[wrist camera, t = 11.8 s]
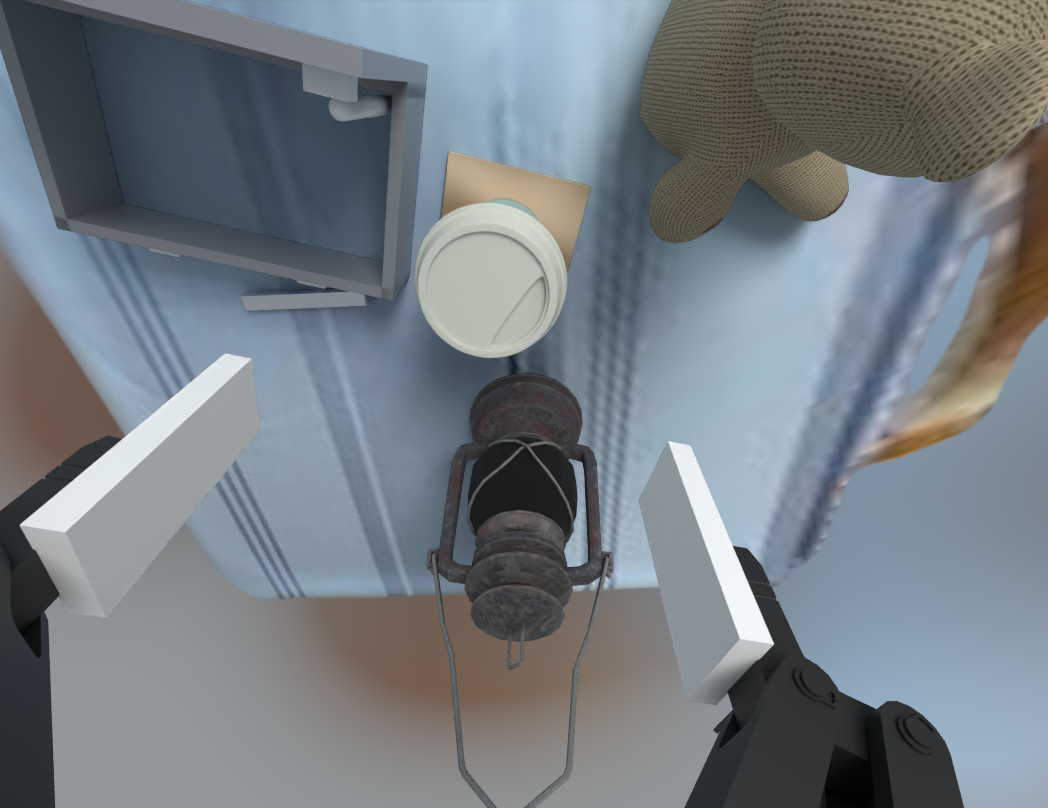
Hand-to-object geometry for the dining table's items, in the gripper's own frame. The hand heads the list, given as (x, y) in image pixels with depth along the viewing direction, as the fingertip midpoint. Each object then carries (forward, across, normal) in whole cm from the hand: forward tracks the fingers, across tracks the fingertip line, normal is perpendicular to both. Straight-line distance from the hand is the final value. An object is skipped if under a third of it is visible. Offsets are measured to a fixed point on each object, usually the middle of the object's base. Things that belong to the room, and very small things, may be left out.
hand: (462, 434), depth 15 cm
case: (+24, -18, +2) cm, 30 cm away
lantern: (+24, +5, -16) cm, 30 cm away
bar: (+25, -15, -8) cm, 30 cm away
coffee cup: (+24, 0, 0) cm, 24 cm away
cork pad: (+24, 0, 0) cm, 24 cm away
